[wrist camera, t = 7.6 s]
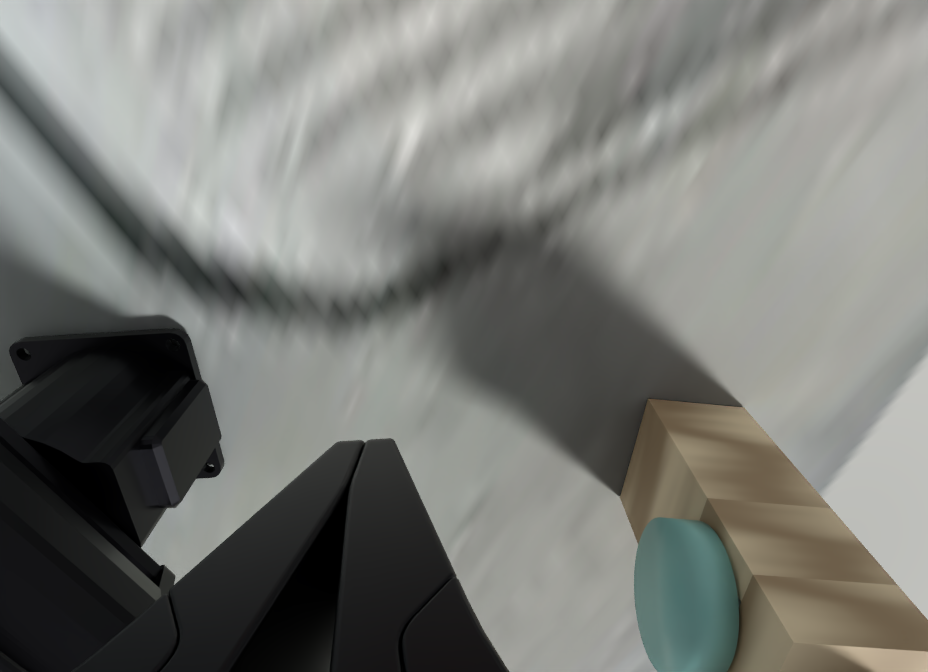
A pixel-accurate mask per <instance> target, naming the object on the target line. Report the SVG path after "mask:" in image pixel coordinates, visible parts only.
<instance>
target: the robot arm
mask: <svg viewBox="0 0 928 672" xmlns="http://www.w3.org/2000/svg"><path fill="white" fill-rule="evenodd" d="M170 339H174V340H176V341H178V343H179V344H180V347H176V346H174V345H173V344H172V343H171V341H170ZM24 349H26V350H28V351H29V352H30V354H31V355H28V354H27V353H26V352H25V351H24ZM9 352H10V356H11V358H12V361H13V363H14V365H15V368H16V370H17V372H18V375H19V377H20V380H21V382H22V384H23V385H22V386H21V387H19V388H18V389H17V390H15V391H14V392H13V393H11V394H10V395H8V396H7V397H6V398H4V399H3V400H2V401H0V672H509V670H508V669H507V668H506V666H505V664H504V663H503V661H502V660H501V658H500V656H499V655H498V653H497V651H496V650H495V648H494V647H493V645H492V643H491V642H490V640H489V638H488V637H487V635H486V634H485V632H484V630H483V628H482V626H481V624H480V623H479V621H478V619H477V617H476V615H475V613H474V611H473V609H472V607H471V605H470V603H469V601H468V599H467V597H466V595H465V593H464V590H463V588H462V586H461V584H460V582H459V580H458V579H457V578H456V574H455V572H454V570H453V567H452V565H451V563H450V561H449V559H448V556H447V554H446V552H445V550H444V548H443V546H442V543H441V541H440V539H439V537H438V535H437V532H436V530H435V528H434V526H433V524H432V522H431V519H430V517H429V515H428V513H427V511H426V508H425V506H424V504H423V502H422V500H421V498H420V495H419V493H418V491H417V489H416V487H415V484H414V482H413V480H412V478H411V476H410V474H409V471H408V469H407V467H406V465H405V463H404V461H403V458H402V456H401V454H400V452H399V450H398V447H397V445H396V443H395V441H394V440H393V439H390V438H389V439H373V440H368V441H366V443H365V442H364V441H362V440H356V441H340V442H337V443H335V444H334V445H333V446H332V447H331V448H329V449H328V450H327V451H326V452H325V453H324V454H323V455H322V456H320V457H319V458H318V459H317V460H316V461H315V462H314V463H312V464H311V465H310V466H309V467H308V468H307V469H306V470H304V471H303V472H302V473H301V474H300V475H299V476H298V477H297V478H295V479H294V480H293V481H292V482H291V483H290V484H289V485H287V486H286V487H285V488H284V489H283V490H282V491H281V492H279V493H278V494H277V495H276V496H275V497H274V498H273V499H272V500H270V501H269V502H268V503H267V504H266V505H265V506H264V507H262V508H261V509H260V510H259V511H258V512H257V513H256V514H254V515H253V516H252V517H251V518H250V519H249V520H248V521H247V522H245V523H244V524H243V525H242V526H241V527H240V528H239V529H237V530H236V531H235V532H234V533H233V534H232V535H231V536H230V537H228V538H227V539H226V540H225V541H224V542H223V543H222V544H220V545H219V546H218V547H217V548H216V549H215V550H214V551H212V552H211V553H210V554H209V555H208V556H207V557H206V558H205V559H203V560H202V561H201V562H200V563H199V564H198V565H197V566H195V567H194V568H193V569H192V570H191V571H190V572H189V573H187V574H186V575H185V576H184V577H183V578H182V579H181V580H180V581H178V582H177V583H176V584H175V585H174V581H175V575H174V574H173V573H172V572H171V571H170V570H169V569H168V568H167V567H166V566H165V565H161V566H159V565H158V564H157V563H156V562H155V561H154V560H153V559H152V558H151V557H150V556H149V555H148V554H147V553H145V552H144V551H143V550H142V549H141V547H142V546H143V544H144V543H145V541H146V539H147V538H148V536H149V535H150V533H151V532H152V530H153V529H154V527H155V526H156V524H157V523H158V521H159V519H160V518H161V516H162V515H163V513H164V512H165V510H166V509H167V508H176V507H177V506H178V505H179V503H180V502H181V501H182V500H183V498H184V497H185V495H186V493H187V492H188V490H189V489H190V487H191V485H192V484H193V482H194V481H195V479H198V478H212V477H216V476H217V475H219V474H220V472H221V470H222V468H223V467H224V458H223V455H222V451H221V448H220V444H219V441H220V439H221V432H220V429H219V425H218V421H217V418H216V414H215V410H214V407H213V403H212V399H211V396H210V392H209V388H208V385H207V384H206V383H205V382H204V381H203V380H202V379H201V375H200V372H199V368H198V365H197V361H196V357H195V354H194V350H193V346H192V343H191V340H190V338H189V336H188V334H186V333H185V332H184V331H182V330H180V329H174V328H173V329H157V330H140V331H124V332H107V333H91V334H75V335H58V336H42V337H26V338H22V339H20V340H18V341H17V342H15V343H14V344H12V345H11V346H10V350H9ZM207 463H211V464H213V465H214V467H211V466H209V465H207ZM173 585H174V586H173Z"/></svg>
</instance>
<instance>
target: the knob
mask: <svg viewBox="0 0 928 672" xmlns="http://www.w3.org/2000/svg"><path fill="white" fill-rule="evenodd" d="M634 595H635V607H636V614H637V621H638V626H639V630H640V634H641V638H642V641H643V645H644V647H645V650H646V653H647V655H648V657H649V659H650V661H651V663H652V664H653V666H654V667H655V669H656V670H657V671H658V672H727V671H728V669H729V667H730V665H731V663H732V661H733V658H734V655H735V651H736V647H737V641H738V633H739V606H740V604H741V601H740V599H739V597H738V594H737V587H736V582H735V577H734V573H733V569H732V566H731V563H730V559H729V557H728V554H727V552H726V549H725V547H724V545H723V543H722V541H721V540H720V538H719V537H718V535H717V534H716V532H715V531H714V530H713V529H712V528H711V527H710V526H709V525H708V524H706V523H704V522H702V521H699V520H687V519H674V518H662V517H657V518H654V519H652V520H651V521H650V522H649V523H648V524H647V526H646V527H645V529H644V531H643V533H642V535H641V538H640V541H639V545H638V549H637V554H636V561H635V571H634Z"/></svg>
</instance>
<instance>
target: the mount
mask: <svg viewBox="0 0 928 672" xmlns="http://www.w3.org/2000/svg"><path fill="white" fill-rule="evenodd" d="M620 499H621V501H622V504H623V506H624V509H625V511H626V514H627V517H628V519H629V522H630V524H631V527H632V529H633V532H634V534H635V537H636V540H637V542H638V545H639V541H640V538H641V535H642V533H643V531H644V529H645V527H646V526H647V524H648V523H649V522H650V521H651V520H652V519H654V518H657V517H662V518H674V519H687V520H699V521H702V522H704V523H706V524H708V525H709V526H710V527H711V528H712V529H713V530H714V531H715V532H716V534H717V535H718V537H719V538H720V540H721V541H722V543H723V545H724V547H725V549H726V552H727V554H728V557H729V559H730V563H731V566H732V569H733V573H734V577H735V582H736V587H737V594H738V597H739V599H740V601H741V604H740V606H739V633H738V641H737V647H736V651H735V655H734V658H733V661H732V663H731V665H730V667H729V669H728V671H727V672H928V620H927V619H926V617H925V616H924V615H923V614H922V613H921V612H920V611H919V609H918V608H917V607H916V606H915V605H914V604H913V603H912V601H911V600H910V599H909V598H908V597H907V596H906V594H905V593H904V592H903V591H902V590H901V589H900V587H899V586H898V585H897V584H896V583H895V582H894V580H893V579H892V578H891V577H890V576H889V575H888V573H887V572H886V571H885V570H884V569H883V568H882V567H881V565H880V564H879V563H878V562H877V561H876V560H875V558H874V557H873V556H872V555H871V554H870V553H869V552H868V550H867V549H866V548H865V547H864V546H863V545H862V543H861V542H860V541H859V540H858V539H857V538H856V537H855V535H854V534H853V533H852V532H851V531H850V530H849V528H848V527H847V526H846V525H845V524H844V523H843V521H842V520H841V519H840V518H839V517H838V516H837V515H836V513H835V512H834V511H833V510H832V509H831V508H830V506H829V505H828V504H827V503H826V502H825V501H824V499H823V498H822V497H821V496H820V495H819V494H818V493H817V491H816V490H815V489H814V488H813V487H812V486H811V484H810V483H809V482H808V481H807V480H806V479H805V477H804V476H803V475H802V474H801V473H800V472H799V471H798V469H797V468H796V467H795V466H794V465H793V464H792V462H791V461H790V460H789V459H788V458H787V457H786V456H785V454H784V453H783V452H782V451H781V450H780V449H779V447H778V446H777V445H776V444H775V443H774V442H773V440H772V439H771V438H770V437H769V436H768V435H767V434H766V432H765V431H764V430H763V429H762V428H761V427H760V425H759V424H758V423H757V422H756V421H755V420H754V419H753V417H752V416H751V415H750V414H749V413H748V412H747V410H746V409H745V408H743V407H732V406H722V405H711V404H700V403H690V402H679V401H668V400H658V399H648V400H647V404H646V408H645V411H644V415H643V418H642V422H641V425H640V429H639V432H638V436H637V439H636V443H635V446H634V450H633V453H632V457H631V460H630V464H629V468H628V471H627V475H626V478H625V482H624V485H623V489H622V492H621V496H620Z"/></svg>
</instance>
